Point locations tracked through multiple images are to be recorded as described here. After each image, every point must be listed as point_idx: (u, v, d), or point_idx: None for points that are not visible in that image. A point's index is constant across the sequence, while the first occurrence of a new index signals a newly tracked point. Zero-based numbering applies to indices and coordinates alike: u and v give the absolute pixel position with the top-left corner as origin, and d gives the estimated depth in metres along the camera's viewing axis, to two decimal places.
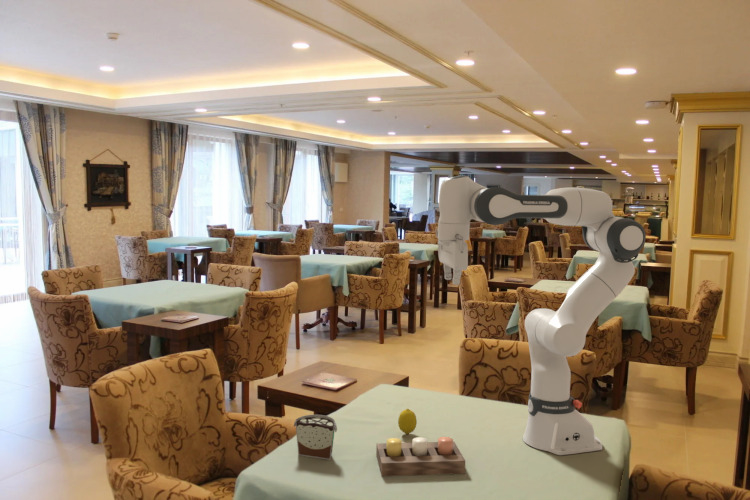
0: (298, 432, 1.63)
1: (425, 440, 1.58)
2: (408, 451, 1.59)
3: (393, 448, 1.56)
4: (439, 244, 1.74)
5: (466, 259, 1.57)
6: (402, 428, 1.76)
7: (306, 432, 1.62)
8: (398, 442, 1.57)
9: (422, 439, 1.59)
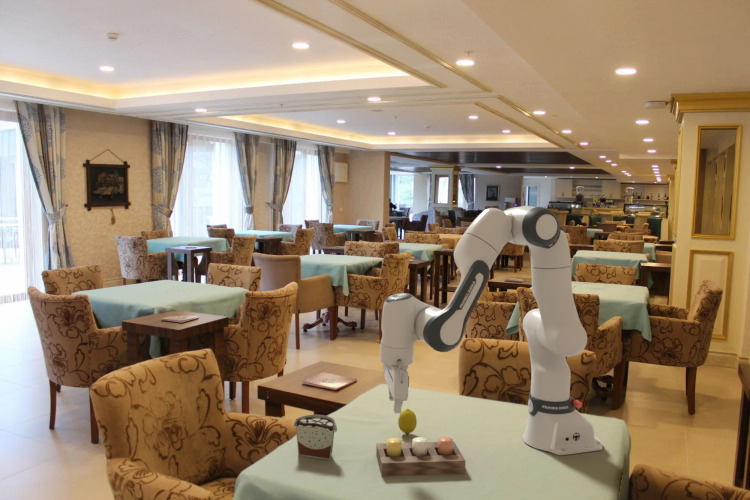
0: (298, 432, 1.63)
1: (425, 440, 1.58)
2: (408, 451, 1.59)
3: (393, 448, 1.56)
4: None
5: (406, 390, 1.47)
6: (402, 428, 1.76)
7: (306, 432, 1.62)
8: (398, 442, 1.57)
9: (422, 439, 1.59)
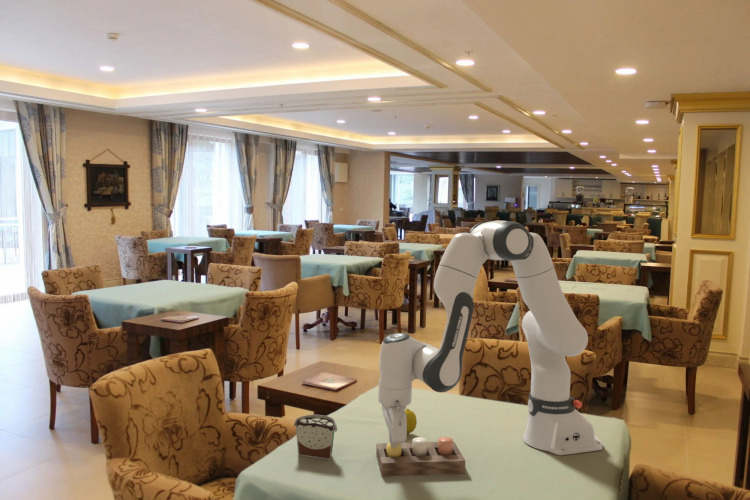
0: (298, 432, 1.63)
1: (425, 440, 1.58)
2: (408, 451, 1.59)
3: (393, 452, 1.56)
4: None
5: (404, 432, 1.47)
6: None
7: (306, 432, 1.62)
8: (398, 446, 1.57)
9: (422, 439, 1.59)
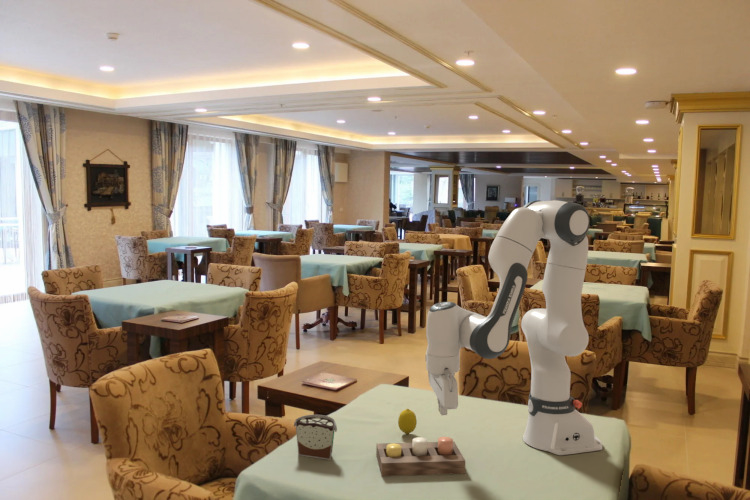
0: (298, 432, 1.63)
1: (425, 440, 1.58)
2: (408, 451, 1.59)
3: (393, 453, 1.56)
4: None
5: (456, 398, 1.48)
6: (402, 428, 1.76)
7: (306, 432, 1.62)
8: (398, 447, 1.57)
9: (422, 439, 1.59)
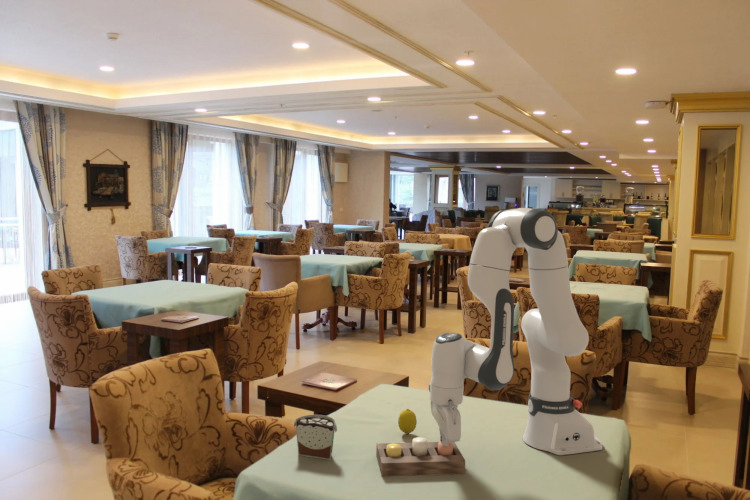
0: (298, 432, 1.63)
1: (425, 440, 1.58)
2: (408, 451, 1.59)
3: (393, 453, 1.56)
4: None
5: (459, 431, 1.49)
6: (402, 428, 1.76)
7: (306, 432, 1.62)
8: (398, 447, 1.57)
9: (422, 439, 1.59)
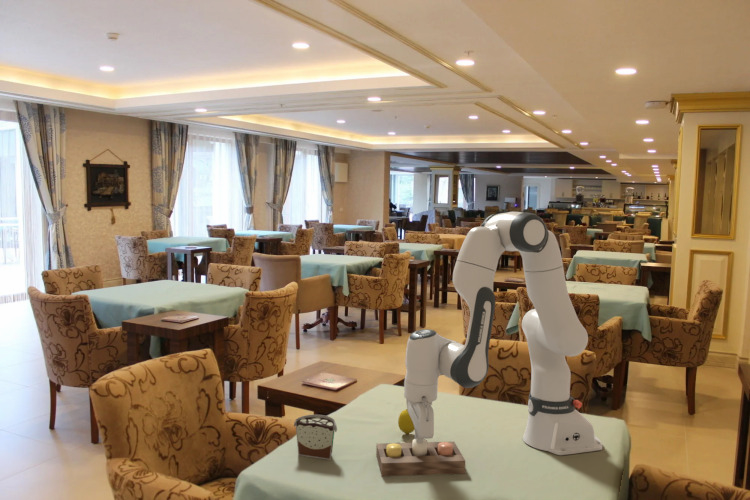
0: (298, 432, 1.63)
1: (425, 441, 1.58)
2: (408, 451, 1.59)
3: (393, 453, 1.56)
4: None
5: (432, 428, 1.48)
6: (402, 428, 1.76)
7: (306, 432, 1.62)
8: (398, 447, 1.57)
9: None
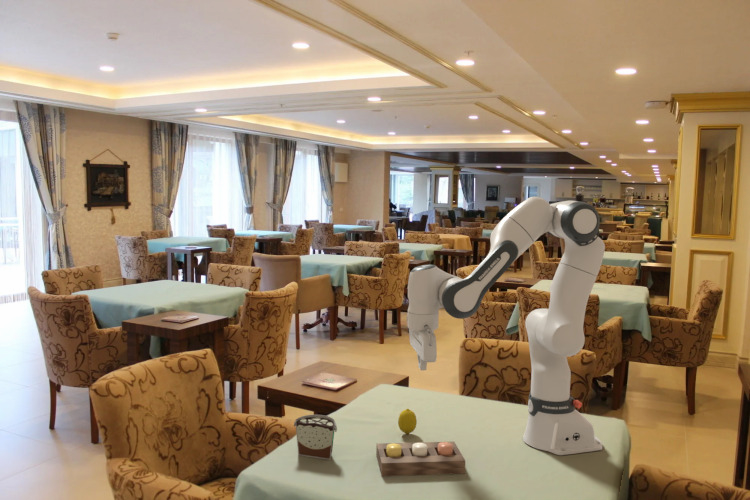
0: (298, 432, 1.63)
1: (425, 445, 1.59)
2: (408, 451, 1.59)
3: (393, 453, 1.56)
4: (410, 328, 1.76)
5: (435, 352, 1.59)
6: (402, 428, 1.76)
7: (306, 432, 1.62)
8: (398, 447, 1.57)
9: (422, 444, 1.59)
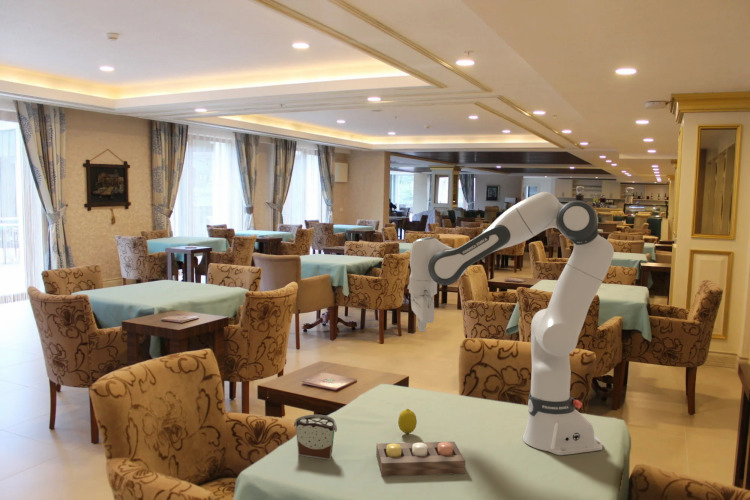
0: (298, 432, 1.63)
1: (425, 445, 1.59)
2: (408, 451, 1.59)
3: (393, 453, 1.56)
4: (411, 295, 1.95)
5: (432, 313, 1.78)
6: (402, 428, 1.76)
7: (306, 432, 1.62)
8: (398, 447, 1.57)
9: (422, 444, 1.59)
